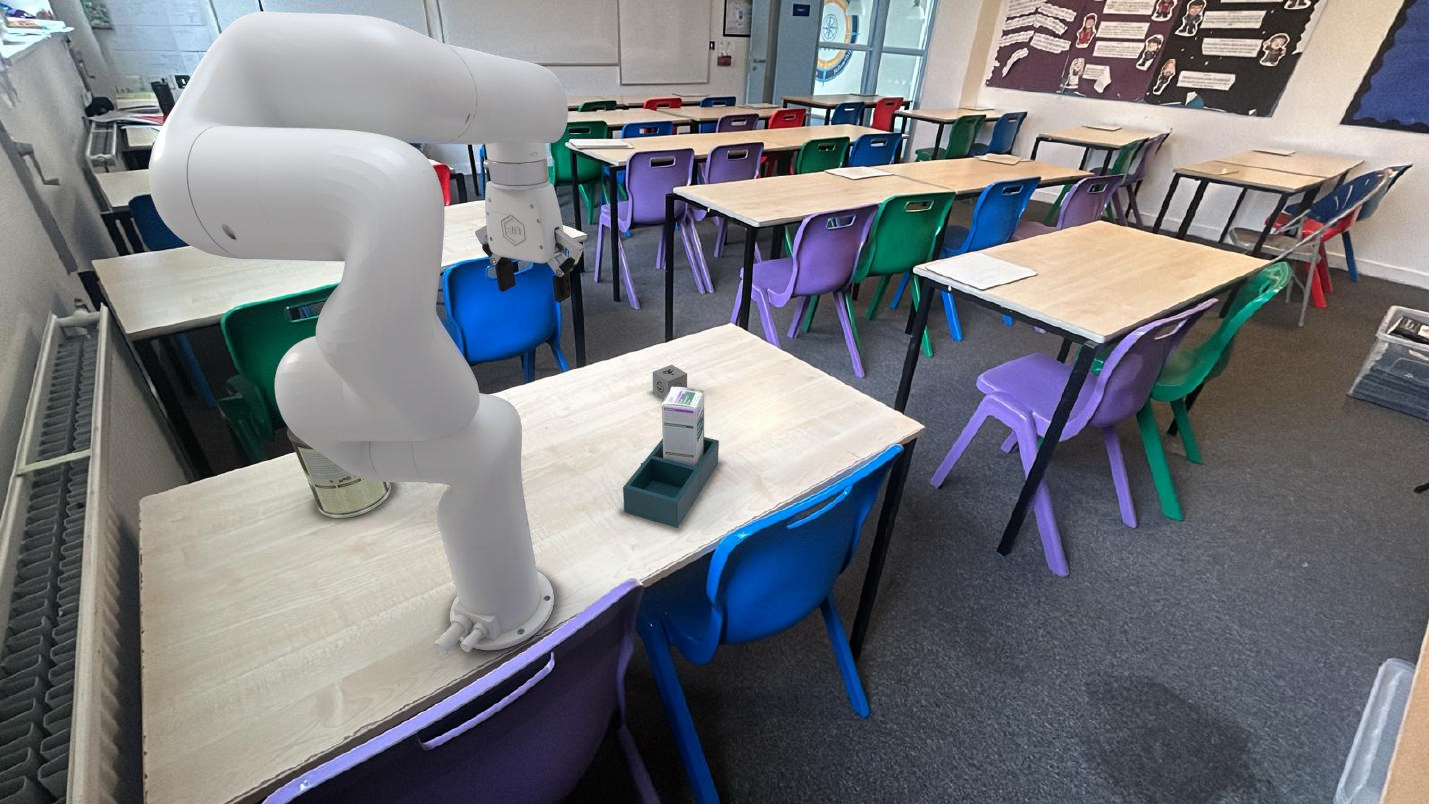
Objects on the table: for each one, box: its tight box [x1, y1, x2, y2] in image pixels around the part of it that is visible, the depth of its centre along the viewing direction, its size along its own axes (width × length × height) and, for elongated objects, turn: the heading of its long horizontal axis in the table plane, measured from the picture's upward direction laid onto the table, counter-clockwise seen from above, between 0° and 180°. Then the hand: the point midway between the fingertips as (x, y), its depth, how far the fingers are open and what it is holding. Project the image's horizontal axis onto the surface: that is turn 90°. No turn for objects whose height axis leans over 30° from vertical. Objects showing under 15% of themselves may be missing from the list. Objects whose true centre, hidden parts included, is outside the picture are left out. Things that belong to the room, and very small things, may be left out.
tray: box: [622, 436, 720, 529], centre depth 99 cm, size 17×9×5 cm, turn 159°
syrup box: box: [661, 387, 705, 467], centre depth 99 cm, size 6×6×14 cm
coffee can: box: [286, 427, 392, 519], centre depth 92 cm, size 10×10×14 cm
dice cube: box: [652, 364, 688, 401], centre depth 124 cm, size 5×5×5 cm
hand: (534, 293), depth 90 cm, fingers open, 9 cm apart
